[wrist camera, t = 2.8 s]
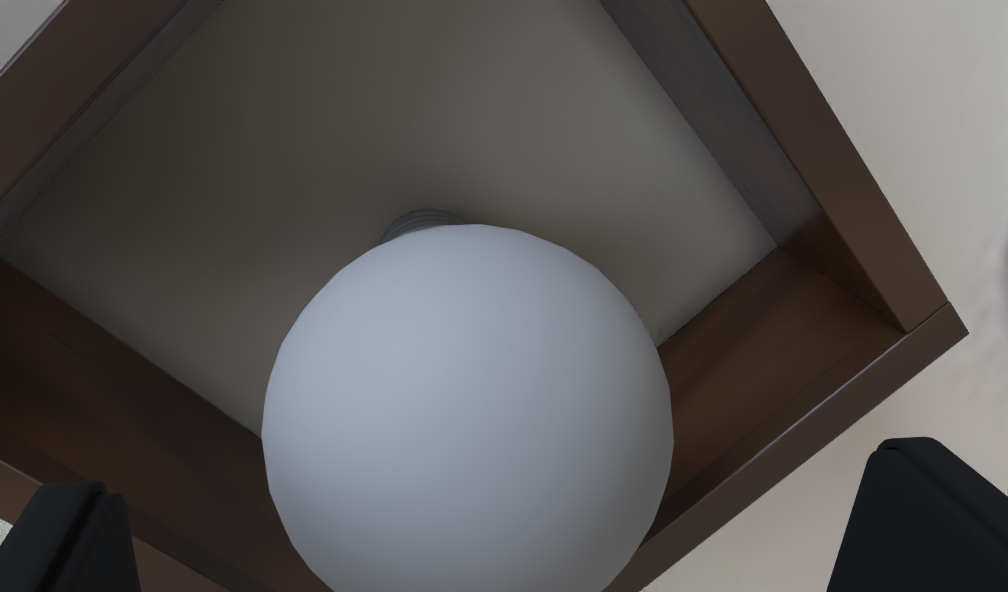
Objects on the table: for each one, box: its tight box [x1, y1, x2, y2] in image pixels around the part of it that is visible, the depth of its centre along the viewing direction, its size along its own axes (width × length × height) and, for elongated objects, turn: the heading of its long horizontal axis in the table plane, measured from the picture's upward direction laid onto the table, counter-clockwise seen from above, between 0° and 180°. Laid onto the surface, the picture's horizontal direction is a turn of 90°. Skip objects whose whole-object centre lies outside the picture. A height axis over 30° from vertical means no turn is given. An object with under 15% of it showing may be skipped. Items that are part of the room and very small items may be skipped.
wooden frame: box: [0, 0, 969, 592], centre depth 16 cm, size 16×16×6 cm
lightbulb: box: [261, 209, 674, 592], centre depth 13 cm, size 6×6×11 cm
